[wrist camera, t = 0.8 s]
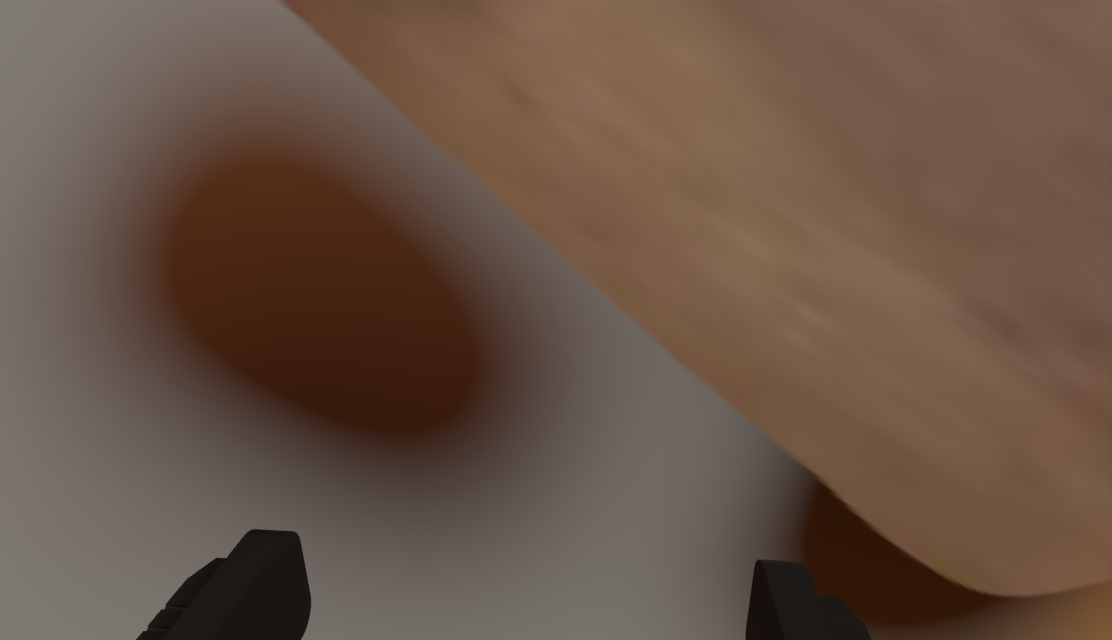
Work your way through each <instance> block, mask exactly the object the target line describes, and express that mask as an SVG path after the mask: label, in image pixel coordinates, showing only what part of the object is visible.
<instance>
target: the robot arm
mask: <svg viewBox="0 0 1112 640" xmlns="http://www.w3.org/2000/svg"><path fill="white" fill-rule="evenodd" d="M310 609H311V595H310V589H309V584H308V579H307V573H306V568H305V563H304V557H303V552H302V547H301V541H300V538H299V536H298V534H297V533H296V532H293V531H277V530H260V529H253V530H250V531H249V532H247V533H246V534H245V535H244V537H243V538H242V539H241V540H240V542H239V543H238V544H237V545H236V547H235V548H234V549H233V550H232V552H231V553H230V554H229V556H228V557H227V558H216V559H214V560H213V561H211V562H210V563H209V564H207V565H206V566H204V567H203V568H202V569H200V570H199V571H197V572H196V573H195V574H194V575H192V576H190V577H189V578H188V579H187V580H186V581H185V582H184V583H183V584H182V586H181V587H180V588H179V589H178V590H177V592H176V593H175V594H174V595H173V596H172V597H171V599H170V600H169V601H168V602H167V603H166V607H165V609H164V610H161V611H160V612H159V613H158V614H157V615H156V617H155V618H154V619H153V620H152V621H151V623H150V624H149V625H148V629H147V631H143V632H142V633H141V635H140V636H139V637H138V638H137V639H136V640H301V639H302V637H303V635H304V633H305V630H306V627H307V624H308V621H309V616H310V611H311V610H310ZM746 640H871V638H870V635H869V633H868V631H867V628H866V626H865V624H864V623H863V622H862V621H861V620H860V619H859V618H858V617H857V616H856V614H855V613H854V612H853V611H852V610H851V609H850V608H849V607H848V606H847V605H846V604H845V603H844V602H843V600H842V599H841V598H839V597H822V596H818V594H817V591H816V589H815V586H814V584H813V581H812V578H811V576H810V573H809V571H808V568H807V567H806V565H805V564H804V563H803V562H795V561H777V560H757V561H756V563H755V567H754V574H753V581H752V589H751V595H750V603H749V610H748V618H747V624H746Z"/></svg>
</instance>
